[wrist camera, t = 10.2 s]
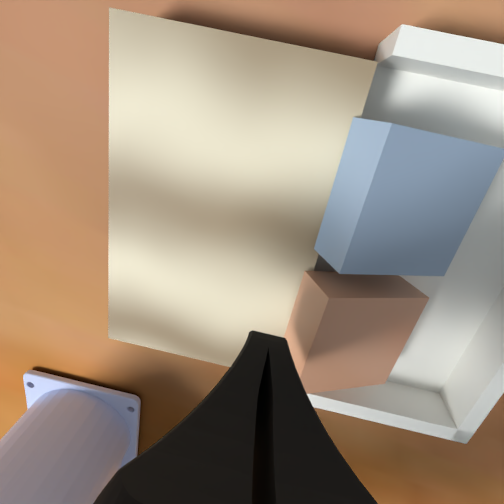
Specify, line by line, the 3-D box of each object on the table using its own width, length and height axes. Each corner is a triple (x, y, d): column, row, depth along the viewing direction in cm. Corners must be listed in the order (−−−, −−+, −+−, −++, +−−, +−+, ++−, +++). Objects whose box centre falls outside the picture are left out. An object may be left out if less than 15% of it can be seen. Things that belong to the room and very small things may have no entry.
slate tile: (409, 253, 14) (444, 276, 13) (313, 249, 13) (339, 273, 11) (459, 140, 12) (508, 149, 11) (353, 117, 11) (391, 123, 9)
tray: (442, 398, 18) (466, 444, 16) (282, 360, 19) (281, 399, 16) (630, 93, 12) (724, 87, 9) (379, 43, 12) (402, 24, 9)
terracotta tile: (360, 353, 17) (384, 383, 15) (276, 360, 15) (293, 395, 14) (396, 273, 15) (429, 297, 13) (304, 270, 13) (328, 298, 11)
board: (281, 345, 18) (280, 379, 16) (131, 310, 18) (108, 338, 16) (362, 71, 12) (378, 61, 10) (141, 26, 13) (109, 7, 10)
